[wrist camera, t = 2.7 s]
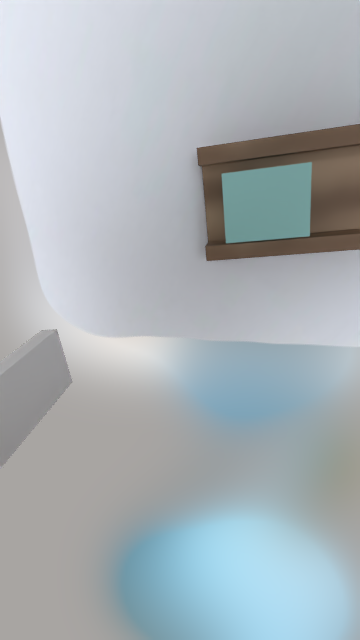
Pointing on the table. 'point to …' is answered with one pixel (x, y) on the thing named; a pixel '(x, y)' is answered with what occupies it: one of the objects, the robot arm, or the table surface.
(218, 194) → the chute
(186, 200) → the table surface
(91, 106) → the table surface
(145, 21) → the table surface
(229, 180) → the block
